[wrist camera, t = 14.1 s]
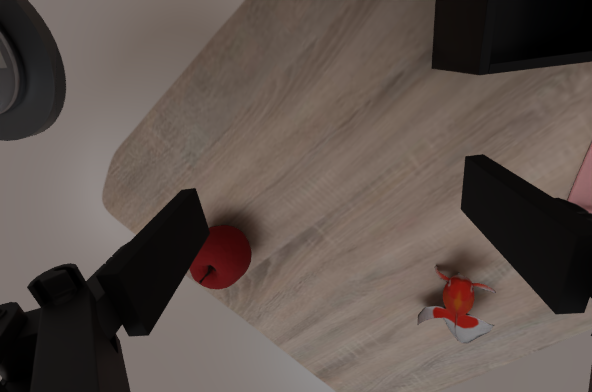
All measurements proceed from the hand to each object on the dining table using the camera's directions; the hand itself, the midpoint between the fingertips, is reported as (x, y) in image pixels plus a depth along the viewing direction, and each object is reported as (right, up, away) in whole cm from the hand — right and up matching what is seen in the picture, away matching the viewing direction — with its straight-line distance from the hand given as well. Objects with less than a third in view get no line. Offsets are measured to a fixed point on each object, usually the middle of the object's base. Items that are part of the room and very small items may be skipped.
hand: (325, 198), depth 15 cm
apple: (-12, -7, +34) cm, 37 cm away
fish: (+24, -16, +35) cm, 45 cm away
